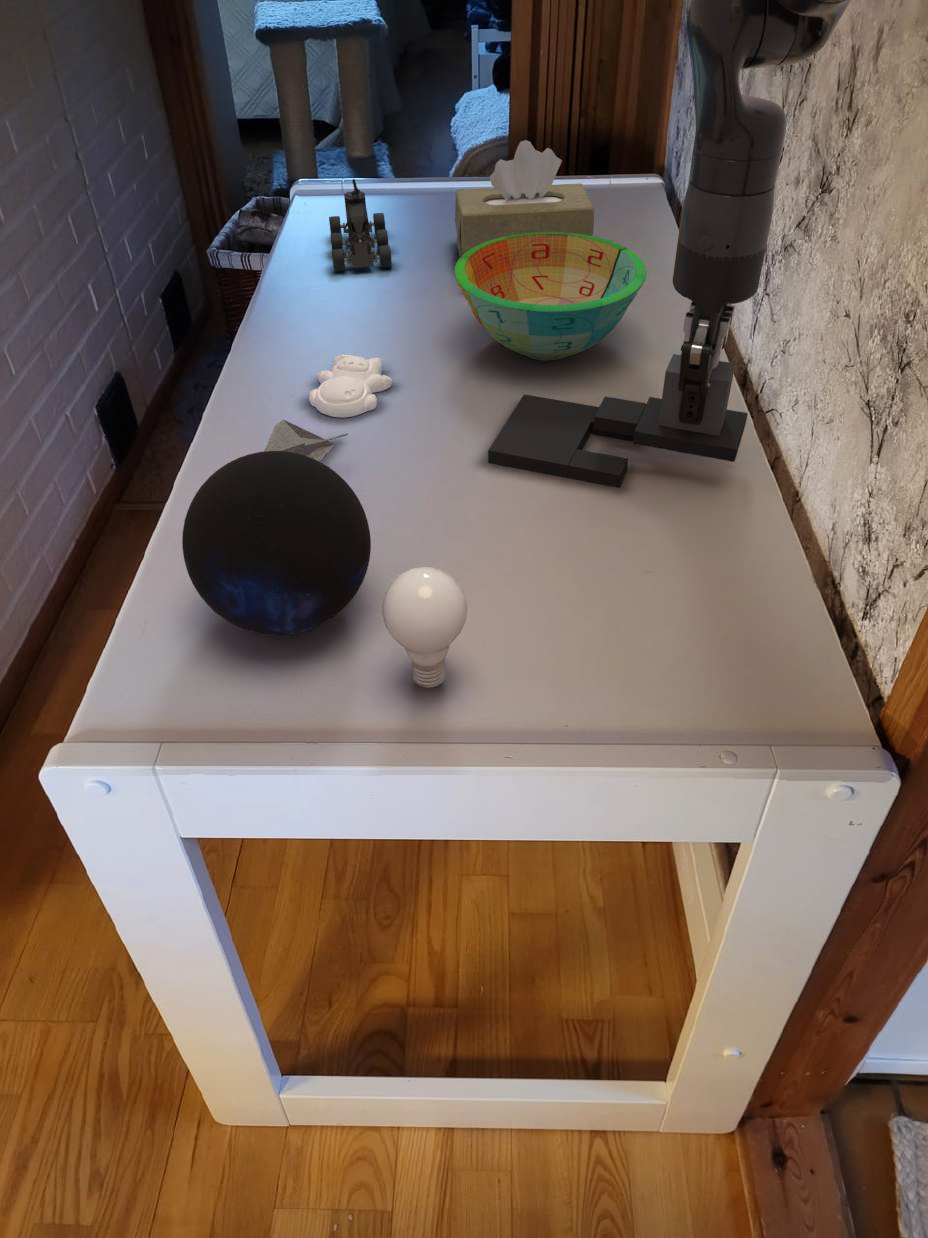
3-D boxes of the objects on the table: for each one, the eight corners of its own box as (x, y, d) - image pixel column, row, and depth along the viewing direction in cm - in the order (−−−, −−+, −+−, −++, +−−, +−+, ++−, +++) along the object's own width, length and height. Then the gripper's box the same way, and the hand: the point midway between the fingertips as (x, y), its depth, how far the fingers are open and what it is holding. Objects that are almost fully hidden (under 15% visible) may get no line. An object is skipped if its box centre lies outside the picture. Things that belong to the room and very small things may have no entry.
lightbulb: (448, 643, 80) (444, 540, 72) (482, 693, 75) (481, 589, 68) (378, 668, 78) (366, 564, 70) (408, 721, 74) (398, 617, 66)
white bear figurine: (403, 371, 114) (401, 347, 112) (366, 422, 106) (363, 398, 104) (336, 361, 116) (333, 338, 114) (294, 411, 108) (290, 387, 106)
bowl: (492, 407, 107) (492, 323, 101) (433, 322, 123) (429, 245, 116) (670, 371, 112) (681, 290, 106) (591, 295, 128) (597, 219, 121)
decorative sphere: (381, 554, 89) (366, 412, 78) (373, 670, 78) (355, 523, 67) (219, 558, 89) (183, 417, 78) (188, 675, 78) (142, 529, 67)
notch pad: (645, 426, 104) (647, 414, 103) (619, 487, 96) (620, 475, 95) (523, 405, 107) (523, 393, 106) (488, 462, 99) (487, 450, 98)
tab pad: (745, 425, 97) (759, 357, 92) (734, 462, 92) (748, 393, 87) (606, 402, 101) (613, 335, 95) (589, 436, 96) (595, 368, 91)
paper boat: (271, 428, 103) (351, 403, 102) (289, 486, 104) (369, 462, 103) (234, 428, 91) (323, 400, 90) (255, 493, 92) (344, 466, 91)
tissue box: (460, 272, 134) (457, 153, 123) (455, 245, 141) (451, 130, 130) (592, 265, 135) (601, 146, 124) (580, 238, 142) (587, 123, 131)
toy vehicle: (384, 231, 146) (380, 171, 140) (392, 271, 135) (387, 208, 129) (331, 235, 145) (324, 175, 139) (334, 276, 134) (327, 212, 128)
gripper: (755, 274, 76) (720, 456, 88) (777, 211, 86) (743, 382, 98) (662, 262, 78) (640, 441, 90) (694, 202, 88) (670, 371, 100)
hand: (694, 410), depth 94 cm, fingers closed on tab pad, 3 cm apart
